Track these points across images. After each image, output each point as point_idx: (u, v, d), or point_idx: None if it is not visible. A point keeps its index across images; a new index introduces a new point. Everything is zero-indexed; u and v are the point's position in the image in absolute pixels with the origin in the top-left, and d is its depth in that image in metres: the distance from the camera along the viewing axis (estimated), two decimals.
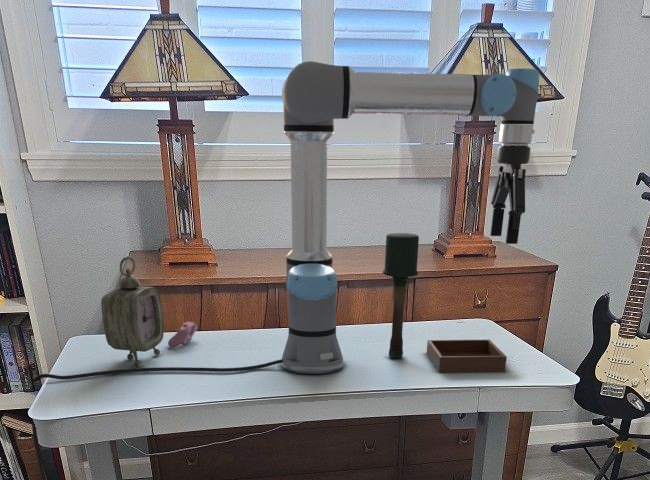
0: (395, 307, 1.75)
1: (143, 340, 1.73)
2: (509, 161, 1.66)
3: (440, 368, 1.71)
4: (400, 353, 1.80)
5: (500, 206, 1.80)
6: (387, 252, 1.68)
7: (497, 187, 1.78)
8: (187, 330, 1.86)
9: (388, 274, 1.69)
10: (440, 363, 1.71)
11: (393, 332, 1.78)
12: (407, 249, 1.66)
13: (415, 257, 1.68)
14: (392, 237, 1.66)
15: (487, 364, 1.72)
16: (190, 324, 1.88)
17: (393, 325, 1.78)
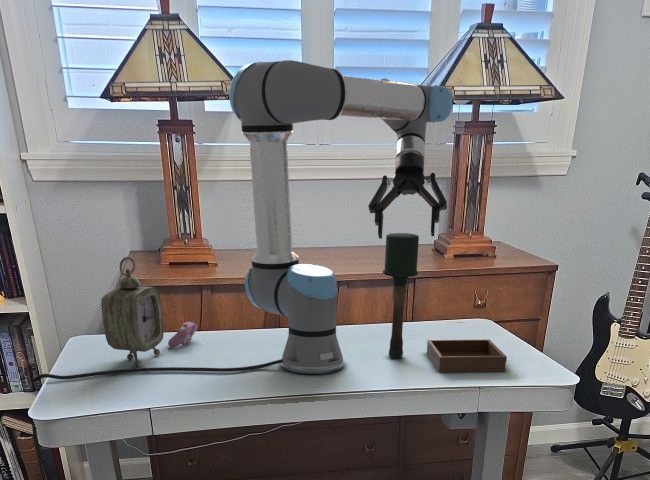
0: (395, 307, 1.75)
1: (143, 340, 1.73)
2: (421, 166, 1.81)
3: (440, 368, 1.71)
4: (400, 353, 1.80)
5: None
6: (387, 252, 1.68)
7: (381, 193, 1.83)
8: (187, 330, 1.86)
9: (388, 274, 1.69)
10: (440, 363, 1.71)
11: (393, 332, 1.78)
12: (407, 249, 1.66)
13: (415, 257, 1.68)
14: (392, 237, 1.66)
15: (487, 364, 1.72)
16: (190, 324, 1.88)
17: (393, 325, 1.78)
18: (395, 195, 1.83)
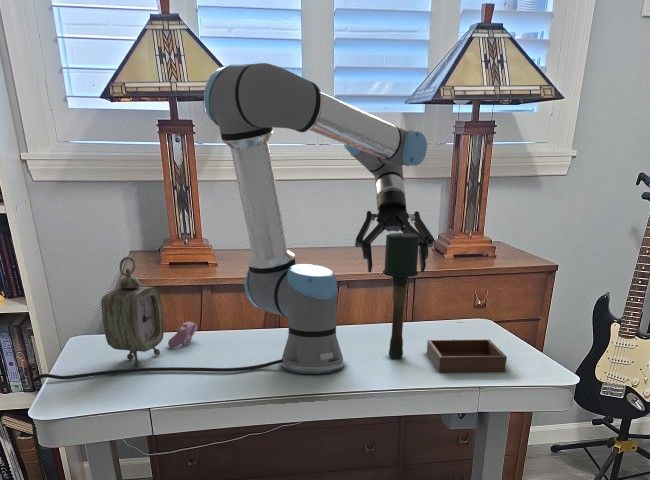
0: (395, 307, 1.75)
1: (143, 340, 1.73)
2: (405, 204, 1.80)
3: (440, 368, 1.71)
4: (400, 353, 1.80)
5: None
6: (387, 252, 1.68)
7: (366, 227, 1.79)
8: (187, 330, 1.86)
9: (388, 274, 1.69)
10: (440, 363, 1.71)
11: (393, 332, 1.78)
12: (407, 249, 1.66)
13: (415, 257, 1.68)
14: (392, 237, 1.66)
15: (487, 364, 1.72)
16: (190, 324, 1.88)
17: (393, 325, 1.78)
18: (380, 231, 1.80)
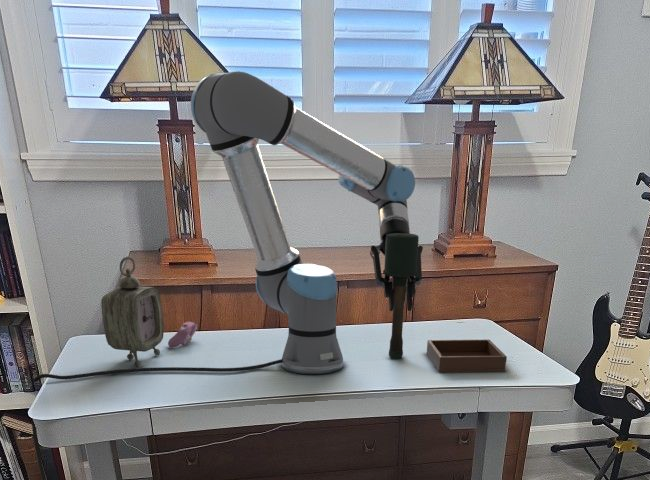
0: (395, 307, 1.75)
1: (143, 340, 1.73)
2: (409, 233, 1.76)
3: (440, 368, 1.71)
4: (400, 353, 1.80)
5: None
6: (387, 252, 1.68)
7: (379, 262, 1.74)
8: (187, 330, 1.86)
9: (388, 274, 1.69)
10: (440, 363, 1.71)
11: (393, 332, 1.78)
12: (406, 249, 1.66)
13: (415, 257, 1.68)
14: (392, 237, 1.66)
15: (487, 364, 1.72)
16: (190, 324, 1.88)
17: (393, 325, 1.78)
18: None
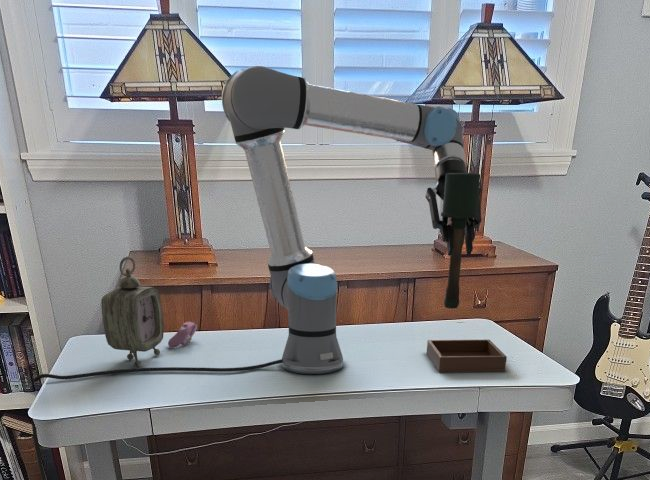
0: (453, 252, 1.66)
1: (143, 340, 1.73)
2: None
3: (440, 368, 1.71)
4: (457, 302, 1.72)
5: None
6: (447, 192, 1.59)
7: None
8: (187, 330, 1.86)
9: (447, 215, 1.61)
10: (440, 363, 1.71)
11: (450, 279, 1.70)
12: (468, 187, 1.57)
13: (476, 197, 1.59)
14: (453, 175, 1.57)
15: (487, 364, 1.72)
16: (190, 324, 1.88)
17: (450, 272, 1.69)
18: None
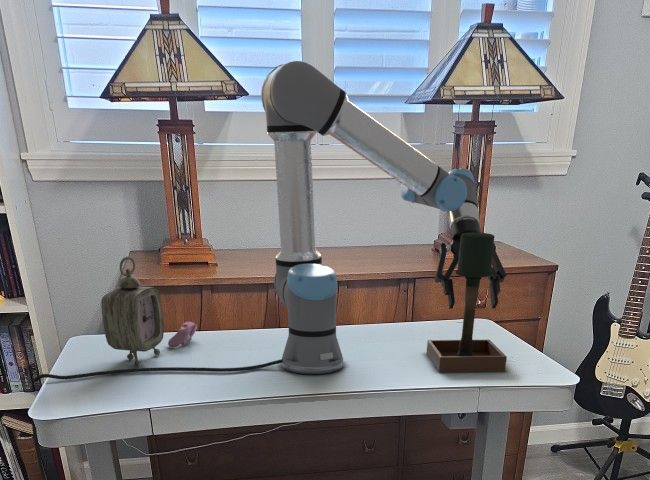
0: (467, 308, 1.72)
1: (143, 340, 1.73)
2: None
3: (440, 368, 1.71)
4: (470, 355, 1.77)
5: None
6: (462, 252, 1.65)
7: (444, 260, 1.71)
8: (187, 330, 1.86)
9: (462, 274, 1.66)
10: (440, 363, 1.71)
11: (464, 333, 1.75)
12: (483, 249, 1.62)
13: (490, 257, 1.65)
14: (468, 236, 1.62)
15: (487, 364, 1.72)
16: (190, 324, 1.88)
17: (464, 326, 1.74)
18: (457, 262, 1.73)
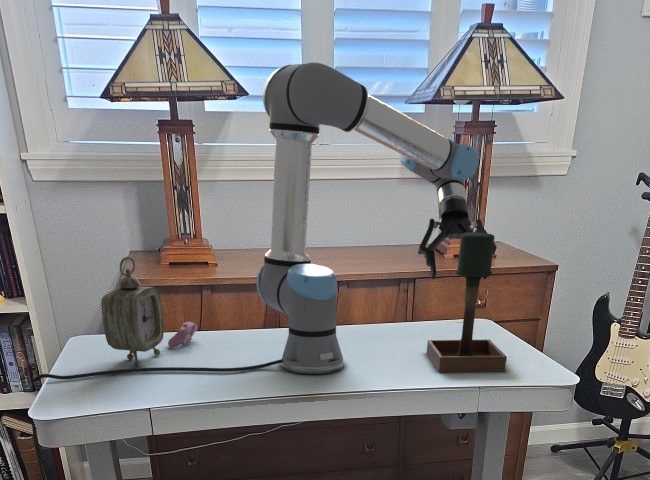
0: (467, 308, 1.72)
1: (143, 340, 1.73)
2: (467, 212, 1.83)
3: (440, 368, 1.71)
4: (470, 355, 1.77)
5: None
6: (462, 252, 1.65)
7: (430, 235, 1.81)
8: (187, 330, 1.86)
9: (462, 274, 1.66)
10: (440, 363, 1.71)
11: (464, 333, 1.75)
12: (483, 249, 1.62)
13: (490, 257, 1.65)
14: (468, 236, 1.62)
15: (487, 364, 1.72)
16: (190, 324, 1.88)
17: (464, 326, 1.74)
18: (443, 238, 1.82)
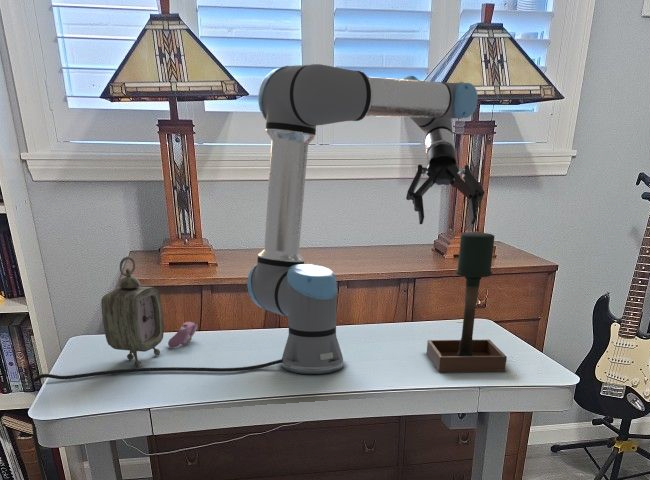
0: (467, 308, 1.72)
1: (143, 340, 1.73)
2: (455, 158, 1.83)
3: (440, 368, 1.71)
4: (470, 355, 1.77)
5: None
6: (462, 252, 1.65)
7: (418, 180, 1.82)
8: (187, 330, 1.86)
9: (462, 274, 1.66)
10: (440, 363, 1.71)
11: (464, 333, 1.75)
12: (483, 249, 1.62)
13: (490, 257, 1.65)
14: (468, 236, 1.62)
15: (487, 364, 1.72)
16: (190, 324, 1.88)
17: (464, 326, 1.74)
18: (431, 184, 1.83)
